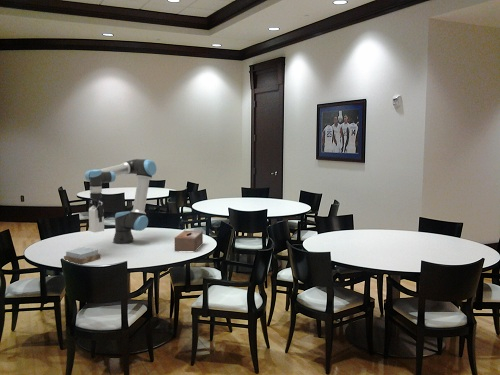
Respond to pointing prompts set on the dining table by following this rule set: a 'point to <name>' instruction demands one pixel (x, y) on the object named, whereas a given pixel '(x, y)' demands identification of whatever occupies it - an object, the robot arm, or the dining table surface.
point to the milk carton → (94, 220)
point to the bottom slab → (82, 261)
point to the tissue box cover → (188, 240)
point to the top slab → (81, 253)
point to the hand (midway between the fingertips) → (96, 226)
